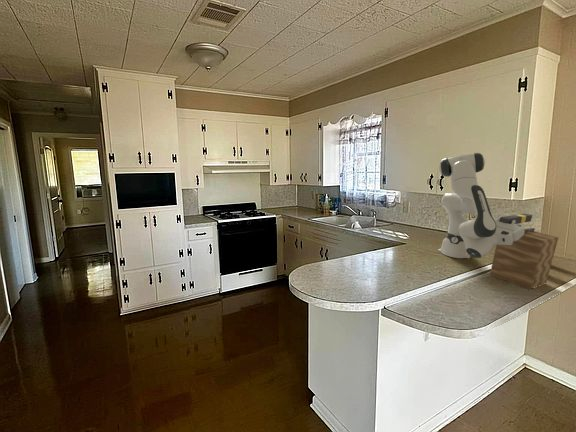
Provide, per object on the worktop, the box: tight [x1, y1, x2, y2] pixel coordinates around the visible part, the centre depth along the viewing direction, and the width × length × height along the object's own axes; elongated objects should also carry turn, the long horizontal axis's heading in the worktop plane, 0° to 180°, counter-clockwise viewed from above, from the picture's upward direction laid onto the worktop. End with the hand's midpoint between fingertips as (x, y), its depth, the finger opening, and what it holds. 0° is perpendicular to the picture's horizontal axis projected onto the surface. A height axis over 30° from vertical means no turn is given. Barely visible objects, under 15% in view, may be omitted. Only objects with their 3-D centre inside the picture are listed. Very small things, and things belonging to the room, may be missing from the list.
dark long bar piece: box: [499, 213, 533, 225], centre depth 168 cm, size 24×4×4 cm, turn 119°
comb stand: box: [489, 223, 559, 290], centre depth 170 cm, size 16×20×28 cm
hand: (508, 219), depth 164 cm, fingers closed on dark long bar piece, 3 cm apart
